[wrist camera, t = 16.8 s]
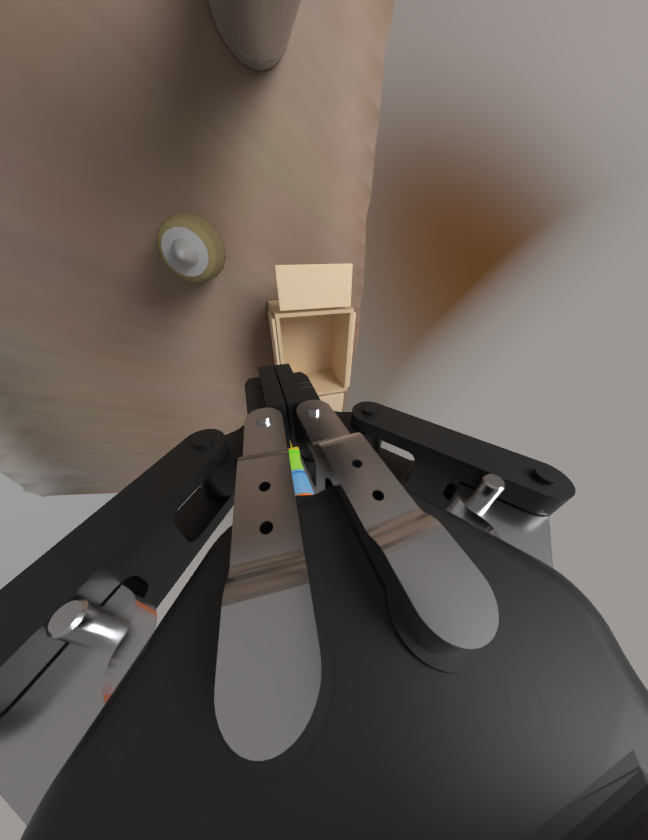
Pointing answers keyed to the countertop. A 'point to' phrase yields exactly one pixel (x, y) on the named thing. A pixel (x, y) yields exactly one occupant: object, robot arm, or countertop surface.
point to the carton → (315, 344)
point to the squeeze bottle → (190, 247)
